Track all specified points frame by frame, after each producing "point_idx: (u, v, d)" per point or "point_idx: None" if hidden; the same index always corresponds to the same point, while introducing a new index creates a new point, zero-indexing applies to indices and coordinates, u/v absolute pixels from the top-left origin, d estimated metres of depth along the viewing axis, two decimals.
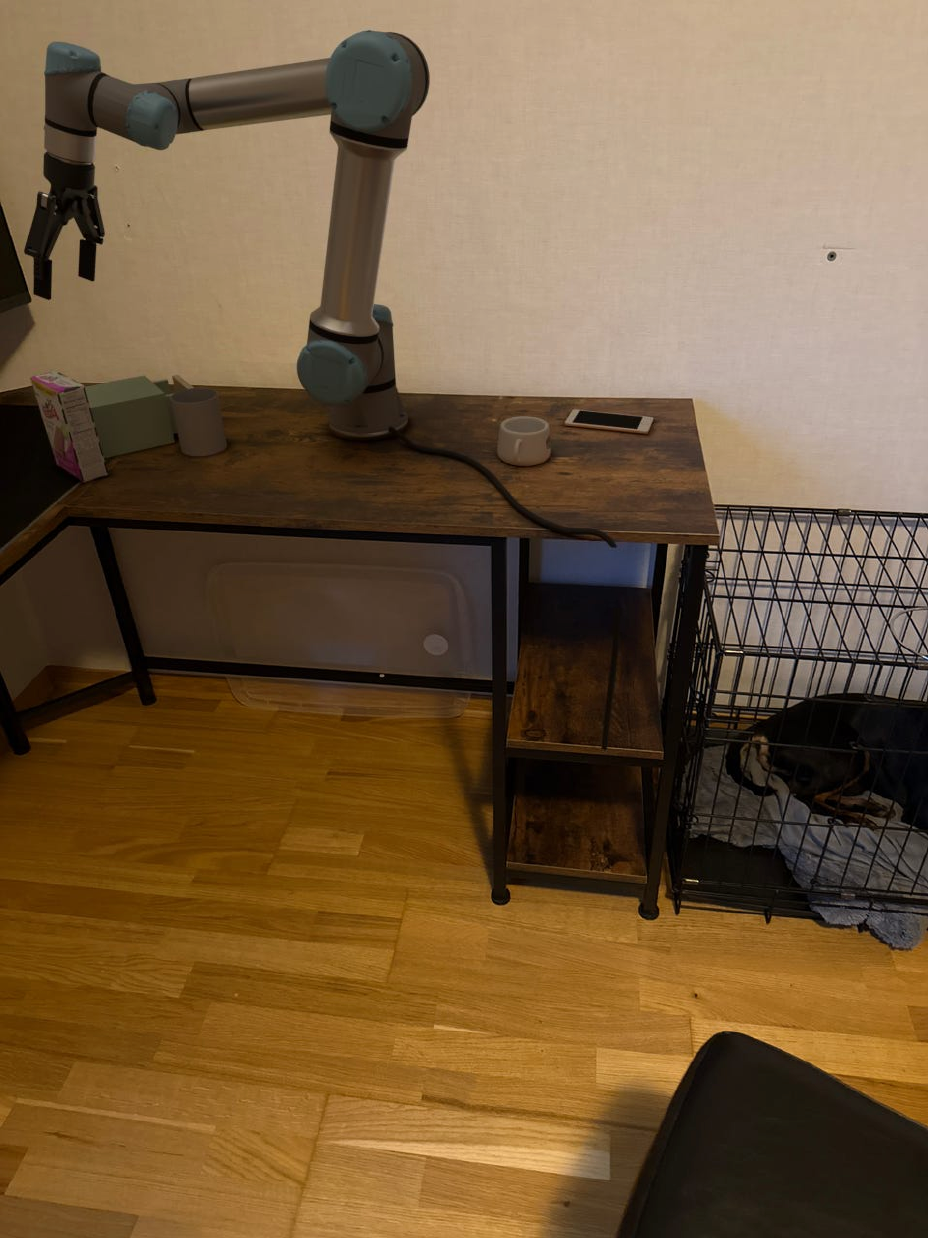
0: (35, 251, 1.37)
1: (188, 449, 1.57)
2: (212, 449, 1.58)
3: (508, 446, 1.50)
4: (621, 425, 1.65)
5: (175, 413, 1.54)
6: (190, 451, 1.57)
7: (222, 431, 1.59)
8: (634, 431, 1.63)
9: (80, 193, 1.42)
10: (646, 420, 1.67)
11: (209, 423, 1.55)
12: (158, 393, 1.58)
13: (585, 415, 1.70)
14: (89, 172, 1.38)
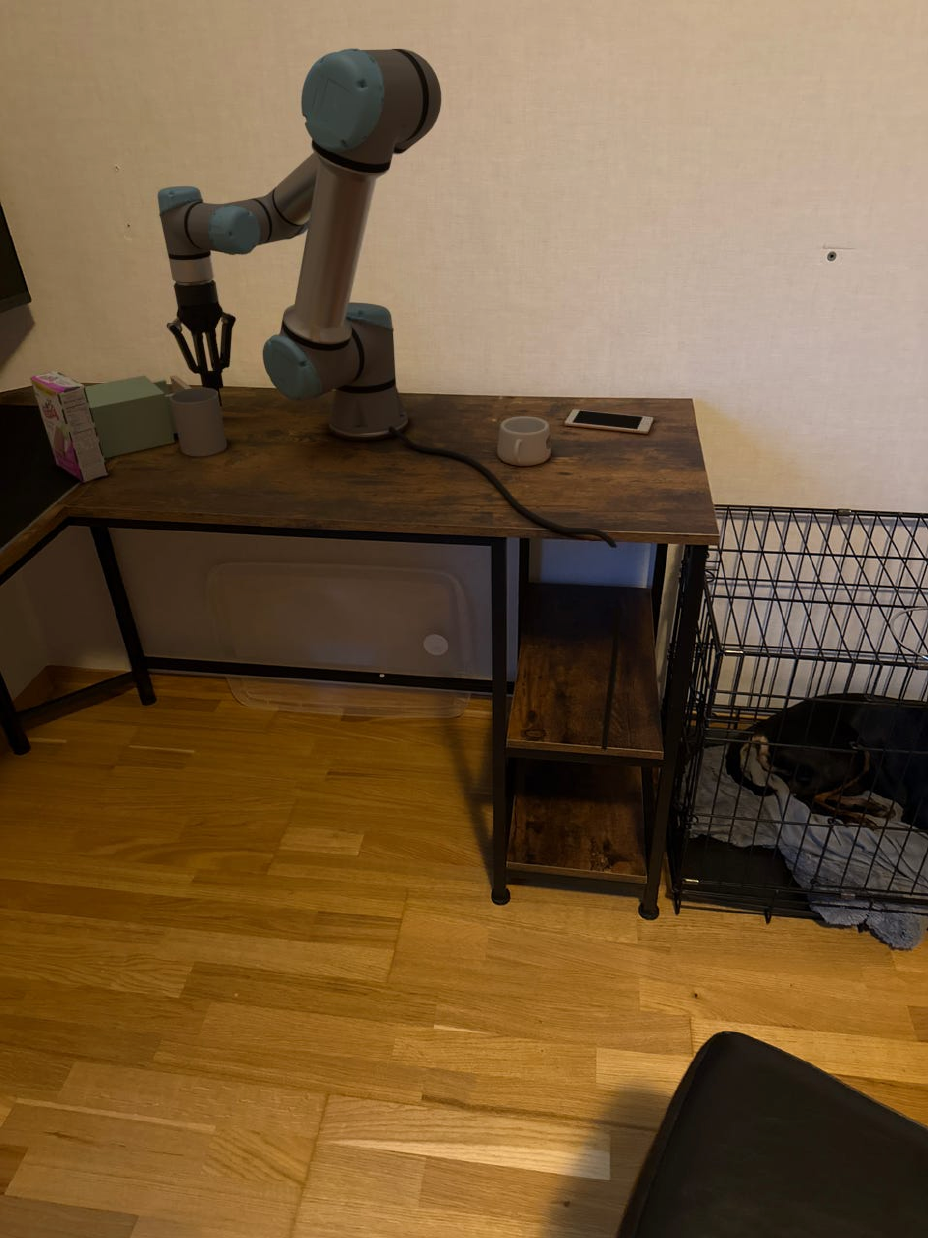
0: None
1: (188, 449, 1.57)
2: (212, 449, 1.58)
3: (508, 446, 1.50)
4: (621, 425, 1.65)
5: (175, 413, 1.54)
6: (190, 451, 1.57)
7: (222, 431, 1.59)
8: (634, 431, 1.63)
9: (210, 311, 1.61)
10: (646, 420, 1.67)
11: (209, 423, 1.55)
12: (158, 393, 1.58)
13: (585, 415, 1.70)
14: (198, 291, 1.56)
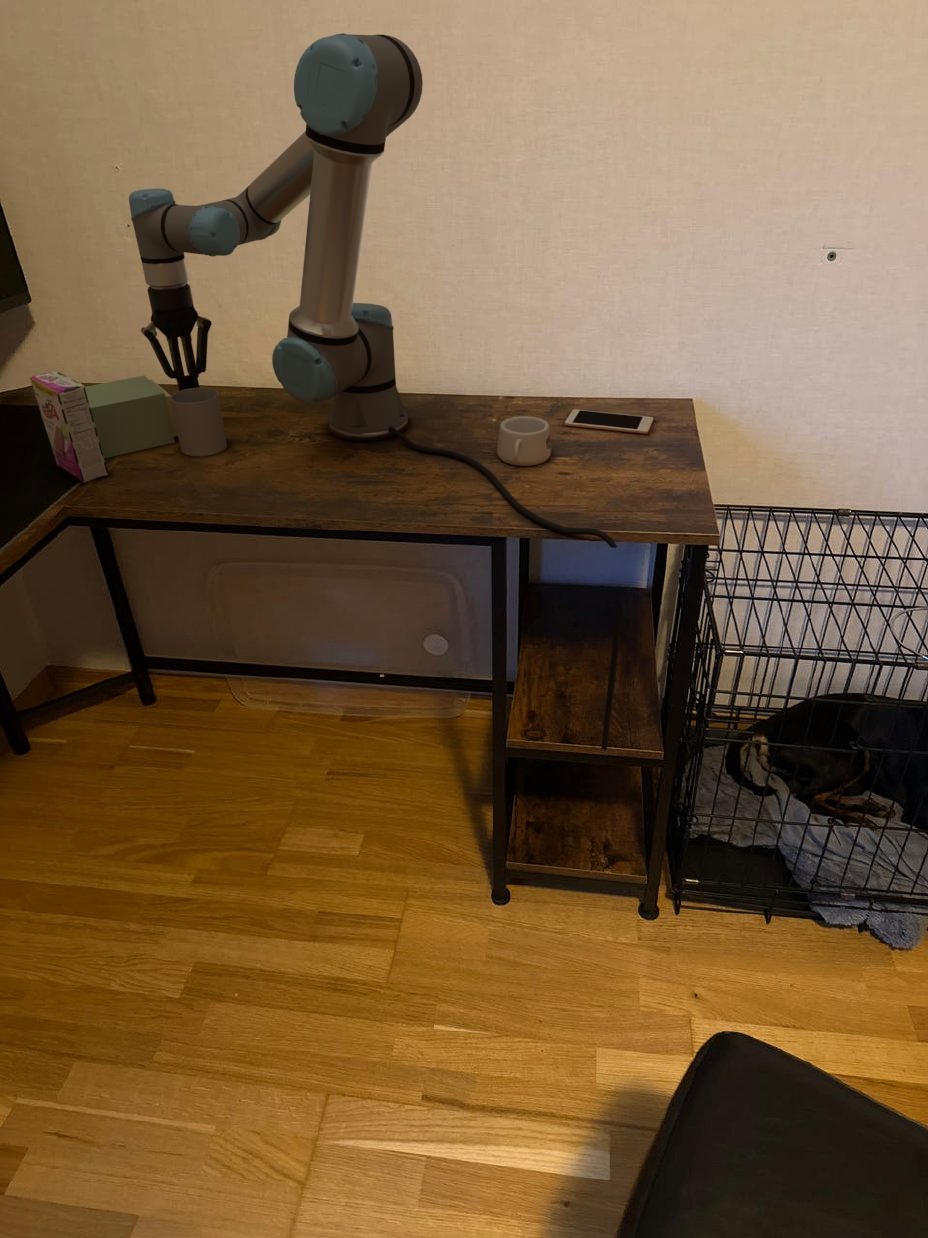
0: None
1: (188, 449, 1.57)
2: (212, 449, 1.58)
3: (508, 446, 1.50)
4: (621, 425, 1.65)
5: (175, 413, 1.54)
6: (190, 451, 1.57)
7: (222, 431, 1.59)
8: (634, 431, 1.63)
9: (184, 315, 1.59)
10: (646, 420, 1.67)
11: (209, 423, 1.55)
12: (158, 393, 1.58)
13: (585, 415, 1.70)
14: (172, 295, 1.54)
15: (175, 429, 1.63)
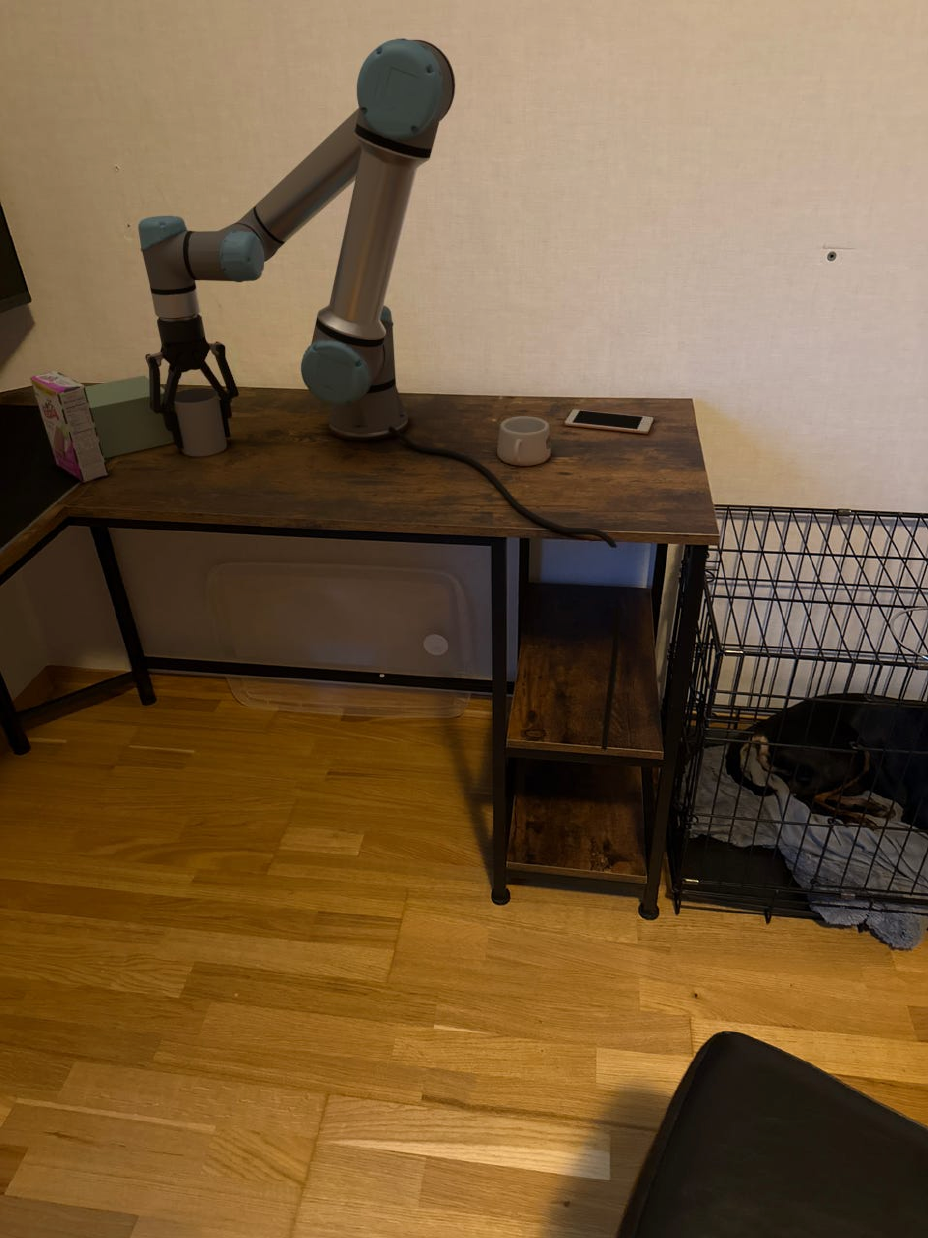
0: None
1: (188, 449, 1.57)
2: (212, 449, 1.58)
3: (508, 446, 1.50)
4: (621, 425, 1.65)
5: None
6: (190, 451, 1.57)
7: (222, 431, 1.59)
8: (634, 431, 1.63)
9: (196, 348, 1.51)
10: (646, 420, 1.67)
11: (209, 423, 1.55)
12: None
13: (585, 415, 1.70)
14: (183, 327, 1.46)
15: None
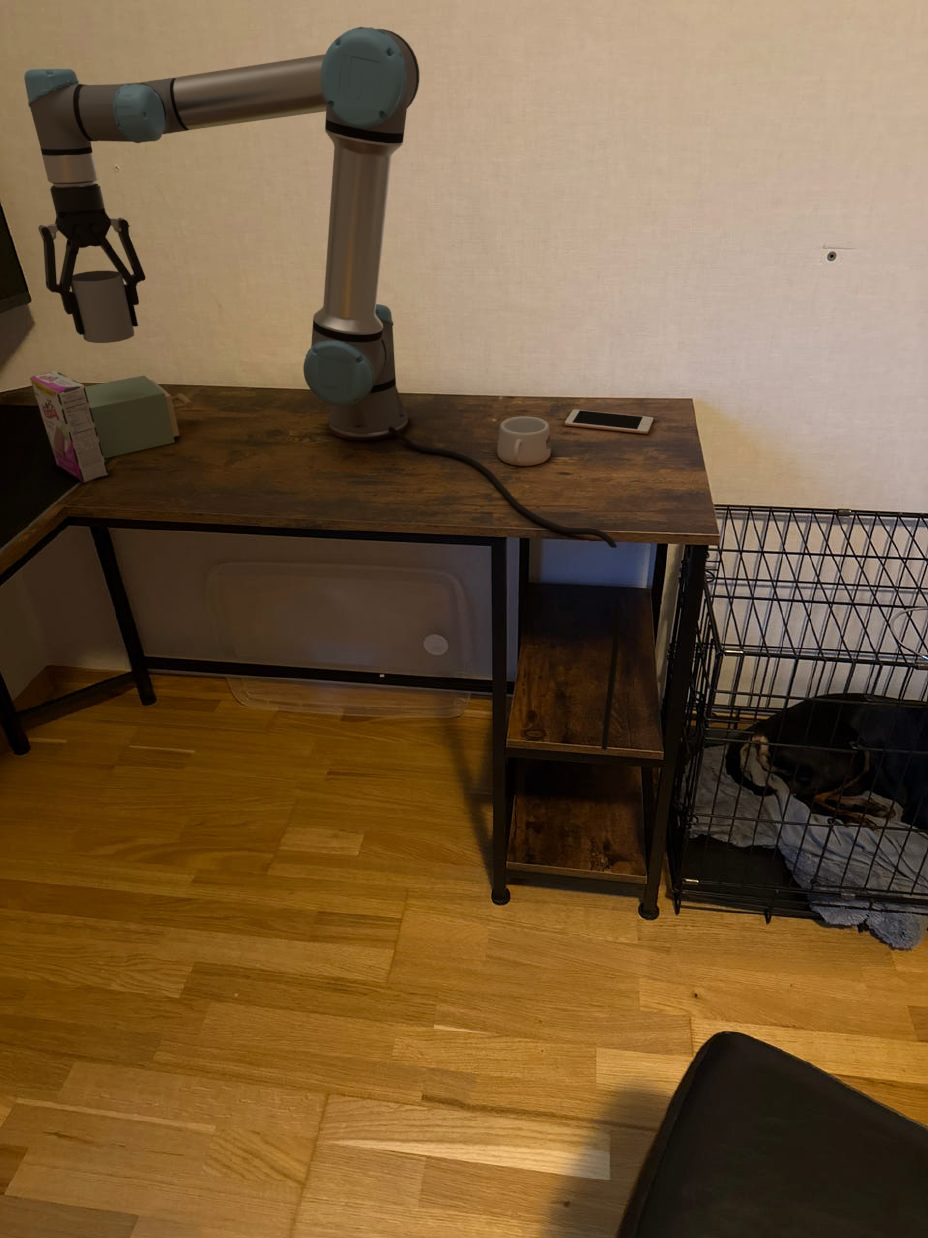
0: None
1: (90, 335, 1.47)
2: (116, 336, 1.47)
3: (508, 446, 1.50)
4: (621, 425, 1.65)
5: None
6: (92, 337, 1.47)
7: (127, 317, 1.48)
8: (634, 431, 1.63)
9: (94, 221, 1.40)
10: (646, 420, 1.67)
11: (111, 306, 1.45)
12: (158, 393, 1.58)
13: (585, 415, 1.70)
14: (77, 194, 1.35)
15: (175, 429, 1.63)
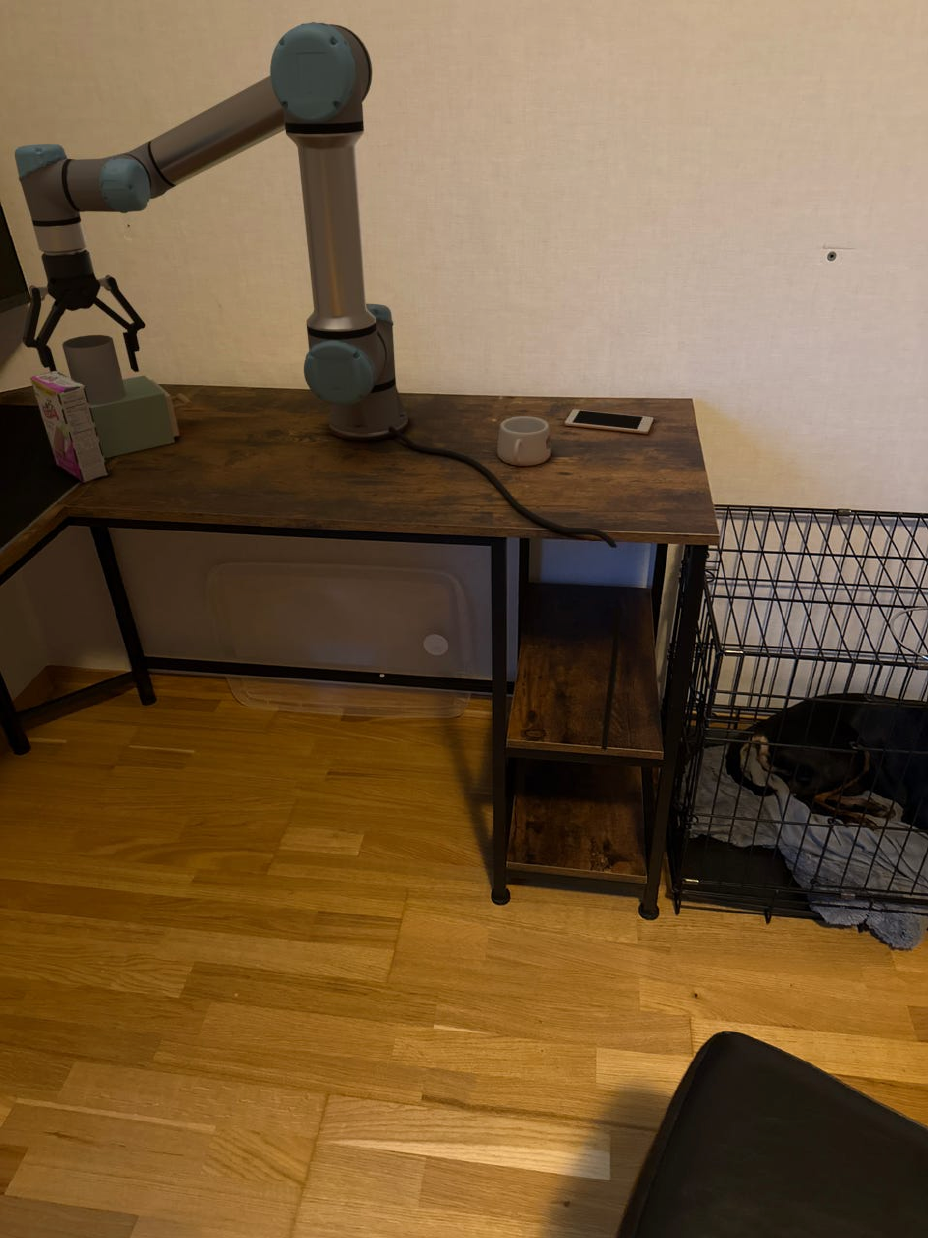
0: None
1: None
2: (107, 398, 1.53)
3: (508, 446, 1.50)
4: (621, 425, 1.65)
5: (67, 359, 1.50)
6: None
7: (118, 379, 1.54)
8: (634, 431, 1.63)
9: (84, 285, 1.46)
10: (646, 420, 1.67)
11: (102, 370, 1.51)
12: (158, 393, 1.58)
13: (585, 415, 1.70)
14: (67, 261, 1.41)
15: (175, 429, 1.63)
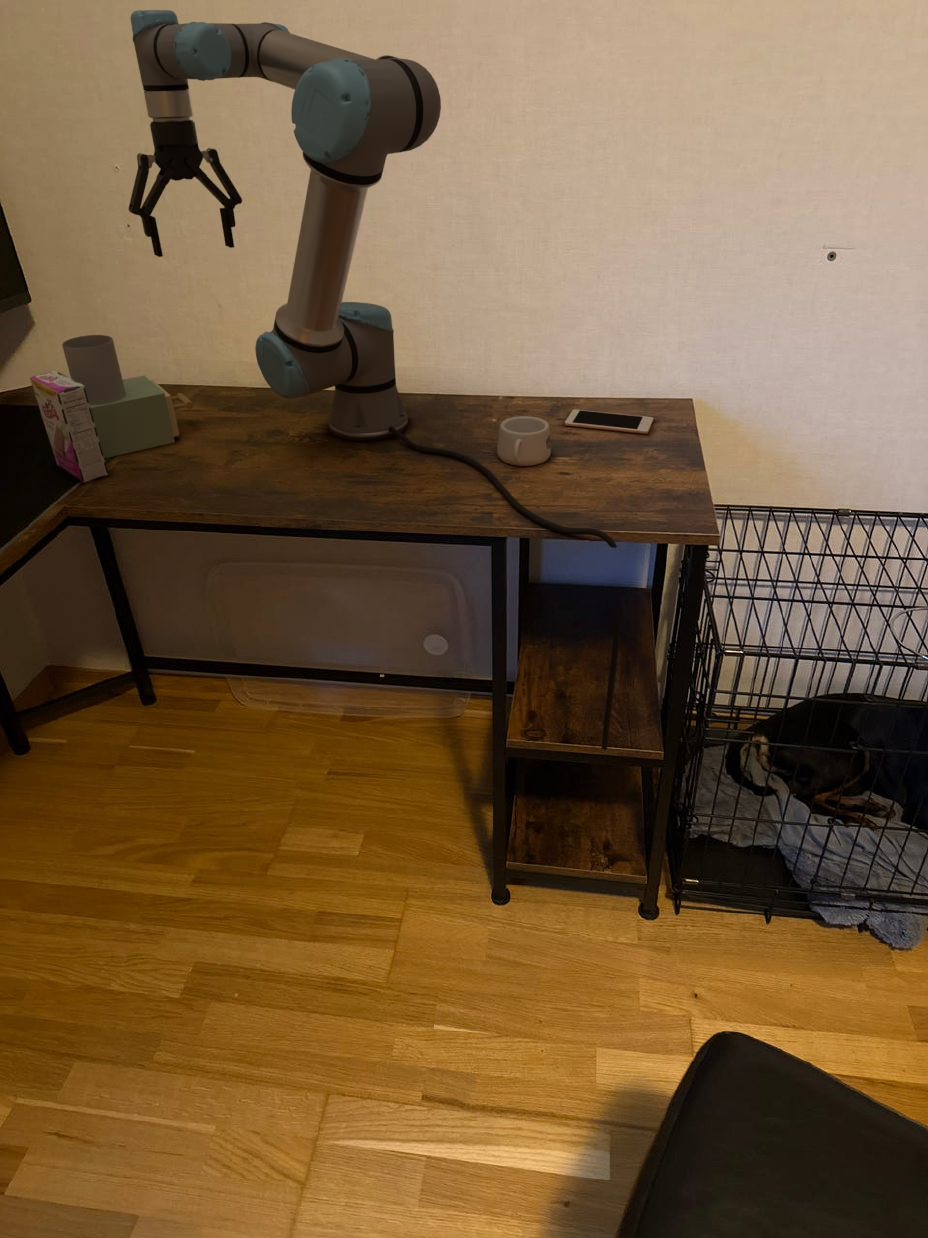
0: (132, 207, 1.51)
1: None
2: (107, 398, 1.53)
3: (508, 446, 1.50)
4: (621, 425, 1.65)
5: (67, 359, 1.50)
6: None
7: (118, 379, 1.54)
8: (634, 431, 1.63)
9: (189, 155, 1.52)
10: (646, 420, 1.67)
11: (102, 370, 1.51)
12: (158, 393, 1.58)
13: (585, 415, 1.70)
14: (176, 127, 1.46)
15: (175, 429, 1.63)
